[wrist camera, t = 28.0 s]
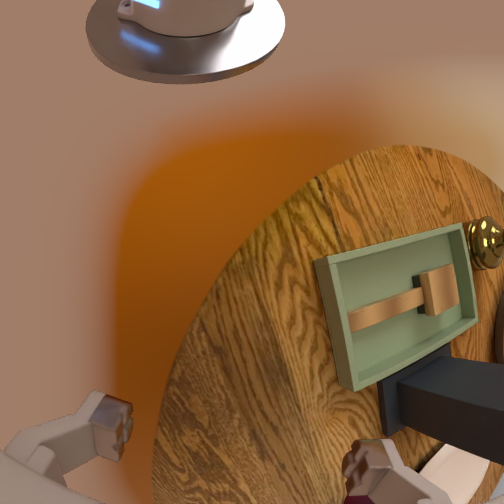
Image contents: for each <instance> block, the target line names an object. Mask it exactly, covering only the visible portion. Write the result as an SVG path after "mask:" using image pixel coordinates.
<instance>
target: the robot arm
mask: <svg viewBox="0 0 504 504" xmlns="http://www.w3.org/2000/svg"><path fill="white" fill-rule="evenodd" d="M253 7H254V0H121V2H120V5H119V7H118V10H117V16H118V17H119V18H121V19H125V20H130V21H134V22H137V23H138V24H140V25H141V26H143V27H144V28H146V29H148V30H150V31H153V32H156V33H159V34H163V35H169V36H180V37H190V36H201V35H206V34H211V33H214V32H217V31H220V30H222V29H224V28H226V27H228V26H230V25H231V24H232V23H233V22H234V21H235V20H236V19H237V18H238V16H239V15H240V14H242V13H244V12H247V11H249V10H251V9H253ZM132 412H133V404H132V403H129V402H127V401H124V400H121V399H118V398H115V397H113V396H110V395H107V394H104V393H101V392H99V391H97V390H93V391H91V392H90V394H89V395H88V397H87V398H86V399H85V401H84V402H83V404H82V405H81V406H80V408H79V409H78V411H77V412H76V413H75V415H74V416H73V415H71V414H70V415H67V416H64V417H61V418H58V419H55V420H52V421H49V422H46V423H43V424H40V425H36V426H33V427H30V428H27V429H23V430H20V431H19V432H18V433H17V434H16V435H15V437H14V438H13V439H12V440H11V441H10V443H9V444H8V445H7V447H6V448H5V449H4V450H3V451H1V450H0V504H105V503H102V502H100V501H97V500H95V499H92V498H90V497H87V496H85V495H83V494H80V493H78V492H76V491H73V490H71V489H69V488H68V487H67V485H66V482H65V480H64V477H63V475H64V474H66V473H68V472H70V471H71V470H73V469H75V468H77V467H79V466H80V465H82V464H84V463H86V462H88V461H89V460H91V459H93V458H94V457H96V455H98V456H101V457H103V458H106V459H109V460H112V461H115V462H118V463H119V461H120V459H121V456H122V454H123V452H124V444H125V443H127V442H128V441H129V439H130V437H131V433H132V429H133V418H132V417H131V414H132ZM351 448H352V450H351V451H349V452H348V453H346V455H345V457H344V458H343V461H342V473H343V475H344V476H345V477H346V478H347V481H346V483H345V485H346V489H347V493H348V496H361V495H368V497H369V498H370V499H371V500H372V501H373V502H374V503H375V504H452V502H451V500H450V498H449V496H448V494H447V493H446V492H445V491H443V490H442V489H440V488H439V487H437V486H436V485H434V484H433V483H431V482H430V481H428V480H427V479H425V478H424V477H422V476H421V475H420V474H418V473H417V472H415V471H414V470H412V469H411V468H409V467H408V466H406V467H405V466H404V464H403V462H402V459H401V457H400V455H399V453H398V451H397V449H396V447H395V444H394V442H393V441H392V440H391V439H379V440H378V439H372V440H355V441H354V442H353V444H352V445H351ZM482 504H504V494H503V495H501V496H499V497H497V498H494V499H492V500H490V501H487V502H485V503H482Z"/></svg>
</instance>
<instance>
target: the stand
mask: <svg viewBox="0 0 504 504" xmlns="http://www.w3.org/2000/svg"><path fill="white" fill-rule="evenodd" d="M377 386H378V393H379V402H380V410H381V420H382V430H383V434H384V435H386V436H387V437H389V436H391V435H393V434H394V433H396V432H398V431H399V430H401V429H403V428H404V427H406V426H407V427H410V428H412V429H414V430H416V431H418V432H421V433H423V434H425V435H427V436H430V437H432V438H434V439H437V440H439V441H441V442H444V443H446V444H449V445H451V446H453V447H456V448H458V449H461V450H463V451H466V452H468V453H471V454H474V455H476V456H479V457H481V458H484V459H487V460H490V461H492V462H495V463H498V464H501V465H504V364H496V363H488V362H481V361H473V360H466V359H459V358H453V357H451V351H450V343H446V344H444V345H443V346H441V347H439V348H438V349H436V350H434V351H433V352H431V353H429V354H428V355H426V356H424V357H422V358H421V359H419V360H417V361H415V362H414V363H412V364H410V365H408V366H406V367H404V368H403V369H401V370H399V371H397V372H395V373H393V374H391V375H389V376H387V377H385V378H383V379H381V380H379V381H377Z"/></svg>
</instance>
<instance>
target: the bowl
mask: <svg viewBox="0 0 504 504" xmlns="http://www.w3.org/2000/svg"><path fill="white" fill-rule="evenodd" d="M495 353H496V358H497V362H498V364H504V291H503V294H502V296H501V299H500V303H499V306H498V311H497V316H496V324H495Z"/></svg>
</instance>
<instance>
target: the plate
mask: <svg viewBox="0 0 504 504" xmlns="http://www.w3.org/2000/svg"><path fill="white" fill-rule="evenodd" d="M489 462H490V460H487V459H484V458H481V457H479V456H476V455H474V454H471V453H468V452H466V451H463V450H461V449H458V448H456V447H453V446H451V445H449V444H446V443H445V444H444V445H443V446H442V447H441V448H440V449H439V450H438V451H437V452H436V453H435V454H434V455H433V456H432V457H431V458H430V459H429V460H428V461H427V463H426V464H425V465H424V467H423V468H422V469H421V470H420V472H419V473H418V474H420V475H421V476H422V477H424V478H425V479H427V480H428V481H430V482H431V483H433V484H434V485H436V486H437V487H439V488H440V489H442V490H443V491H445V492H446V493H447V494H448V496H449V498H450V500H451V502H452V504H467V503H468V502H469V501H470V499H471V498H472V497H473V495H474V493H475V492H476V490H477V489H478V487H479V485H480V484H481V481H482V479H483V477H484V475H485V473H486V471H487V468H488V465H489Z"/></svg>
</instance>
